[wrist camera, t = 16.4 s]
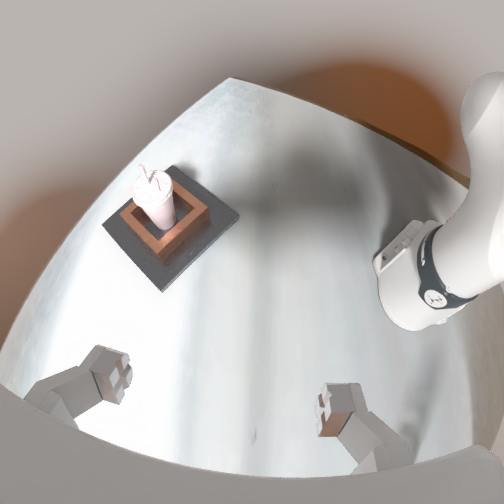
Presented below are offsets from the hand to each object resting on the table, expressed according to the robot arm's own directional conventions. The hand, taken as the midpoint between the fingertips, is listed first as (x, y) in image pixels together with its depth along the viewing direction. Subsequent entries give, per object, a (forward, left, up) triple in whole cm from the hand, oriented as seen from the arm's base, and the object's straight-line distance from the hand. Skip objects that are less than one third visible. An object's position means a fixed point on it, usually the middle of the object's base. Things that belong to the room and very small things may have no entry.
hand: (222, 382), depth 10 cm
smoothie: (-10, -26, -29) cm, 40 cm away
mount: (-10, -26, -30) cm, 41 cm away
